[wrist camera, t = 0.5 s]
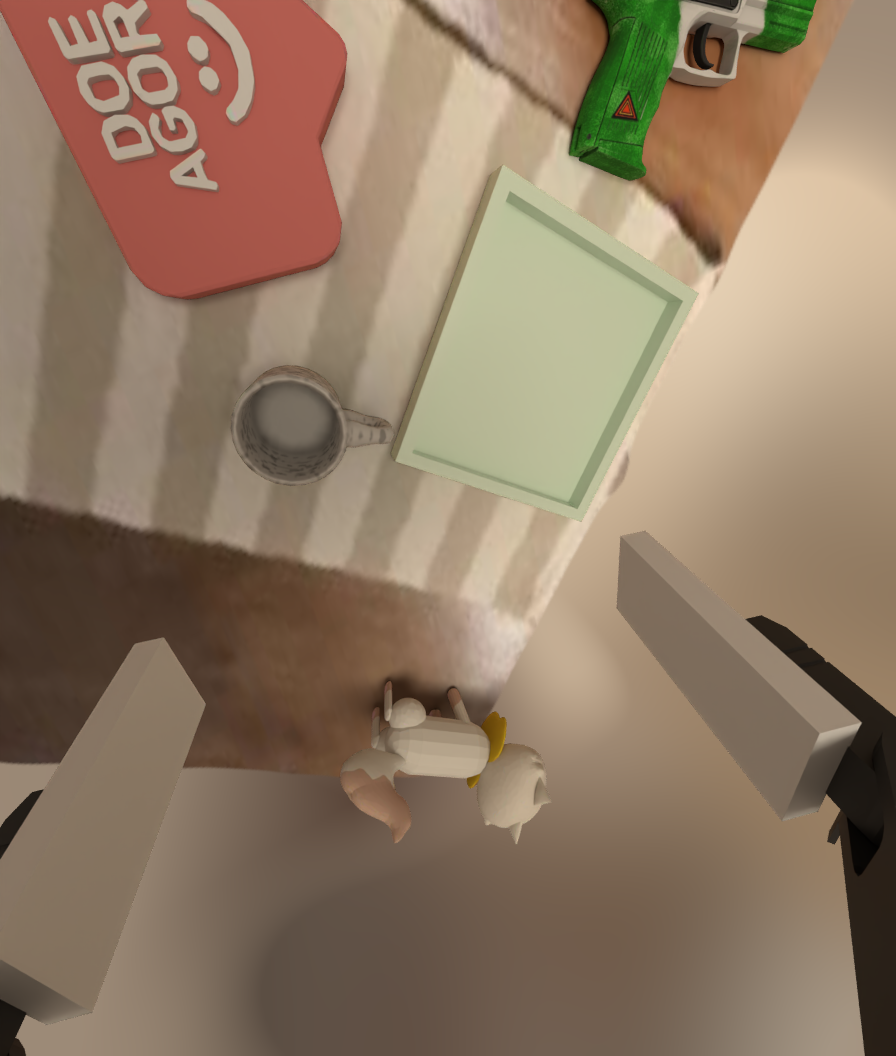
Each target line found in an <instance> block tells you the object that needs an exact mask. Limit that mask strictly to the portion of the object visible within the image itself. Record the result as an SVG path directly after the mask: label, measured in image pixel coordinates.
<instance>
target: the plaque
mask: <svg viewBox="0 0 896 1056" xmlns="http://www.w3.org/2000/svg"><path fill="white" fill-rule="evenodd" d="M0 11H1V13H2V15H3V17H4V19H5V21H6V23H7V25H8V27H9V29H10V31H11V33H12V35H13V37H14V39H15V41H16V43H17V45H18V47H19V49H20V51H21V53H22V55H23V57H24V59H25V61H26V63H27V65H28V67H29V69H30V71H31V73H32V75H33V77H34V79H35V81H36V83H37V85H38V87H39V89H40V91H41V93H42V95H43V97H44V99H45V100H46V102H47V104H48V106H49V108H50V110H51V112H52V114H53V116H54V118H55V120H56V122H57V124H58V126H59V128H60V130H61V132H62V134H63V136H64V138H65V140H66V142H67V144H68V146H69V148H70V150H71V152H72V154H73V156H74V158H75V160H76V162H77V164H78V166H79V168H80V170H81V172H82V174H83V176H84V178H85V180H86V182H87V184H88V186H89V188H90V190H91V192H92V194H93V196H94V198H95V200H96V202H97V204H98V206H99V208H100V210H101V212H102V214H103V216H104V218H105V220H106V222H107V224H108V226H109V228H110V230H111V232H112V234H113V236H114V238H115V240H116V242H117V244H118V246H119V248H120V250H121V252H122V254H123V256H124V258H125V260H126V262H127V264H128V266H129V268H130V270H131V271H132V272H133V273H134V274H135V275H136V277H137V278H138V279H139V280H140V281H141V282H142V283H143V284H144V286H145V287H147V288H149V289H151V290H153V291H155V292H157V293H159V294H161V295H164V296H169V297H175V298H182V299H195V298H201V297H205V296H209V295H212V294H216V293H220V292H224V291H228V290H232V289H236V288H240V287H244V286H247V285H251V284H255V283H259V282H263V281H267V280H271V279H275V278H279V277H282V276H286V275H290V274H294V273H298V272H302V271H306V270H310V269H314V268H317V267H319V266H321V265H323V264H325V263H326V262H327V261H328V260H329V259H330V258H331V257H332V256H333V255H334V253H335V251H336V249H337V247H338V245H339V241H340V234H341V225H342V222H341V218H340V215H339V211H338V208H337V204H336V200H335V197H334V193H333V190H332V186H331V183H330V179H329V175H328V172H327V168H326V165H325V161H324V158H323V154H322V150H321V145H322V142H323V139H324V137H325V134H326V132H327V129H328V126H329V124H330V121H331V119H332V116H333V113H334V111H335V108H336V105H337V103H338V100H339V98H340V95H341V92H342V90H343V87H344V79H345V70H346V61H347V51H346V47H345V43H344V42H343V40H342V38H341V37H340V35H339V34H338V33H337V32H336V31H335V30H334V29H333V28H332V27H331V26H330V25H329V24H327V23H326V22H325V21H324V20H323V19H322V18H321V17H320V16H319V15H318V14H317V13H316V12H314V11H313V10H312V9H311V8H310V7H309V6H308V5H307V4H306V3H305V2H304V1H303V0H0Z"/></svg>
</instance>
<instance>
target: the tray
mask: <svg viewBox="0 0 896 1056" xmlns="http://www.w3.org/2000/svg"><path fill="white" fill-rule="evenodd" d="M698 294H699V293H697V292H696V291H694V290H693V289H691V288H690V287H688V286H687V285H685V284H684V283H682V282H681V281H679V280H678V279H676V278H675V277H673V276H672V275H670V274H668V273H667V272H665V271H664V270H662V269H661V268H659V267H658V266H656V265H655V264H653V263H652V262H650V261H649V260H647V259H646V258H644V257H643V256H641V255H640V254H638V253H637V252H635V251H633V250H632V249H630V248H629V247H627V246H626V245H624V244H623V243H621V242H620V241H618V240H617V239H615V238H614V237H612V236H611V235H609V234H608V233H606V232H605V231H603V230H602V229H600V228H598V227H597V226H595V225H594V224H592V223H591V222H589V221H588V220H586V219H585V218H583V217H582V216H580V215H579V214H577V213H576V212H574V211H573V210H571V209H570V208H568V207H567V206H565V205H563V204H562V203H560V202H559V201H557V200H556V199H554V198H553V197H551V196H550V195H548V194H547V193H545V192H544V191H542V190H541V189H539V188H538V187H536V186H535V185H533V184H532V183H530V182H528V181H527V180H525V179H524V178H522V177H521V176H519V175H518V174H516V173H515V172H513V171H512V170H510V169H509V168H507V167H506V166H504V165H502V166H501V167H499V168H498V169H497V170H496V171H495V172H493V173H492V174H491V175H490V177H489V180H488V182H487V185H486V188H485V191H484V194H483V196H482V199H481V202H480V205H479V208H478V210H477V213H476V216H475V219H474V222H473V224H472V227H471V230H470V233H469V236H468V238H467V241H466V244H465V247H464V250H463V252H462V255H461V258H460V261H459V264H458V266H457V269H456V272H455V275H454V278H453V280H452V283H451V286H450V289H449V292H448V295H447V297H446V300H445V303H444V306H443V309H442V311H441V314H440V317H439V320H438V323H437V325H436V328H435V331H434V334H433V337H432V339H431V342H430V345H429V348H428V351H427V353H426V356H425V359H424V362H423V365H422V367H421V370H420V373H419V376H418V379H417V381H416V384H415V387H414V390H413V393H412V395H411V398H410V401H409V404H408V407H407V409H406V412H405V415H404V418H403V421H402V423H401V426H400V429H399V432H398V435H397V438H396V440H395V443H394V446H393V449H392V452H391V455H392V457H393V459H394V460H395V462H398V463H401V464H404V465H407V466H410V467H413V468H417V469H420V470H423V471H426V472H429V473H432V474H435V475H438V476H441V477H444V478H447V479H451V480H454V481H457V482H460V483H463V484H466V485H469V486H472V487H475V488H478V489H481V490H484V491H488V492H491V493H494V494H497V495H500V496H503V497H506V498H509V499H512V500H515V501H518V502H522V503H525V504H528V505H531V506H534V507H537V508H540V509H543V510H546V511H549V512H552V513H555V514H559V515H562V516H565V517H568V518H571V519H574V520H577V521H580V522H582V520H583V518H584V516H585V514H586V512H587V510H588V508H589V506H590V504H591V502H592V500H593V498H594V496H595V494H596V492H597V490H598V488H599V486H600V485H601V483H602V481H603V479H604V477H605V475H606V473H607V471H608V469H609V467H610V465H611V463H612V461H613V459H614V457H615V455H616V453H617V451H618V449H619V448H620V446H621V444H622V442H623V440H624V438H625V436H626V434H627V432H628V430H629V428H630V426H631V424H632V422H633V420H634V418H635V416H636V414H637V413H638V411H639V409H640V407H641V405H642V403H643V401H644V399H645V397H646V395H647V393H648V391H649V389H650V387H651V385H652V383H653V381H654V379H655V377H656V376H657V374H658V372H659V370H660V368H661V366H662V364H663V362H664V360H665V358H666V356H667V354H668V352H669V350H670V348H671V346H672V344H673V342H674V340H675V339H676V337H677V335H678V333H679V331H680V329H681V327H682V325H683V323H684V321H685V319H686V317H687V315H688V313H689V311H690V309H691V307H692V305H693V303H694V302H695V300H696V298H697V296H698Z"/></svg>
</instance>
